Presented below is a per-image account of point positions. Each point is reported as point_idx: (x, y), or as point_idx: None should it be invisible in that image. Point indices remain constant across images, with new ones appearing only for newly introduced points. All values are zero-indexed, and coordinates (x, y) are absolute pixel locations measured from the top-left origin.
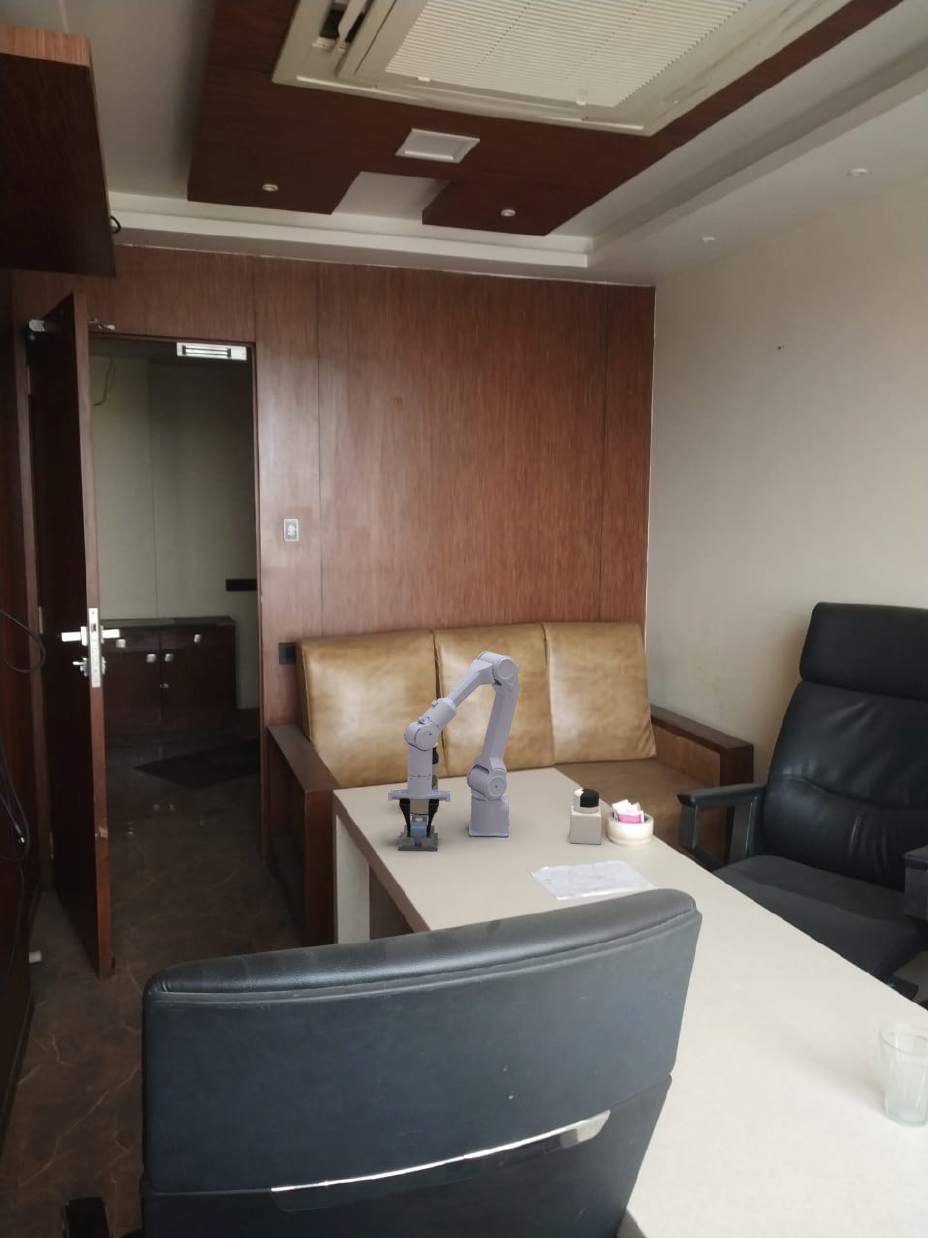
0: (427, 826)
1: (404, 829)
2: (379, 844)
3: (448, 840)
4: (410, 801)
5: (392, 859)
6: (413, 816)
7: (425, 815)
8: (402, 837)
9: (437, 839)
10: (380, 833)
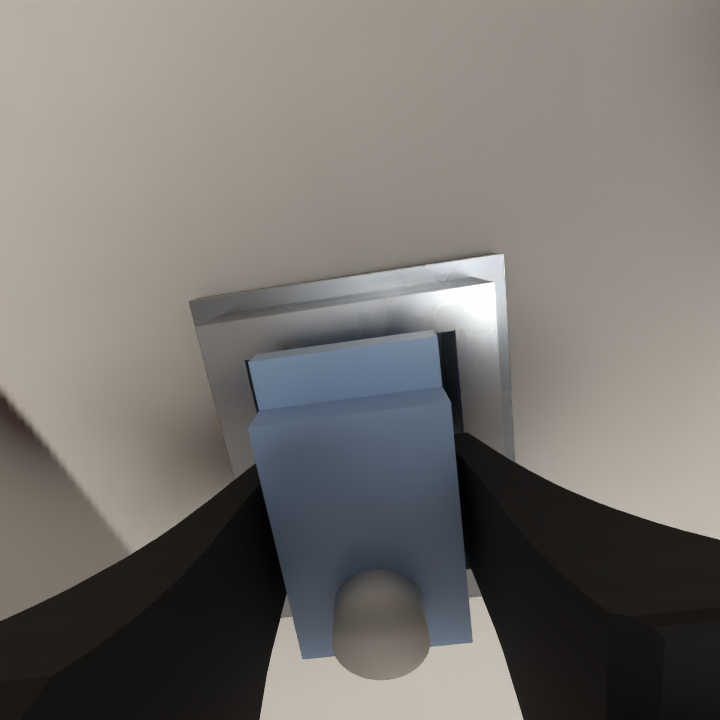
0: (465, 553)
1: (231, 446)
2: (118, 489)
3: (581, 329)
4: (114, 637)
5: (272, 672)
6: (279, 480)
7: (428, 416)
8: None
9: (509, 405)
10: (32, 282)
